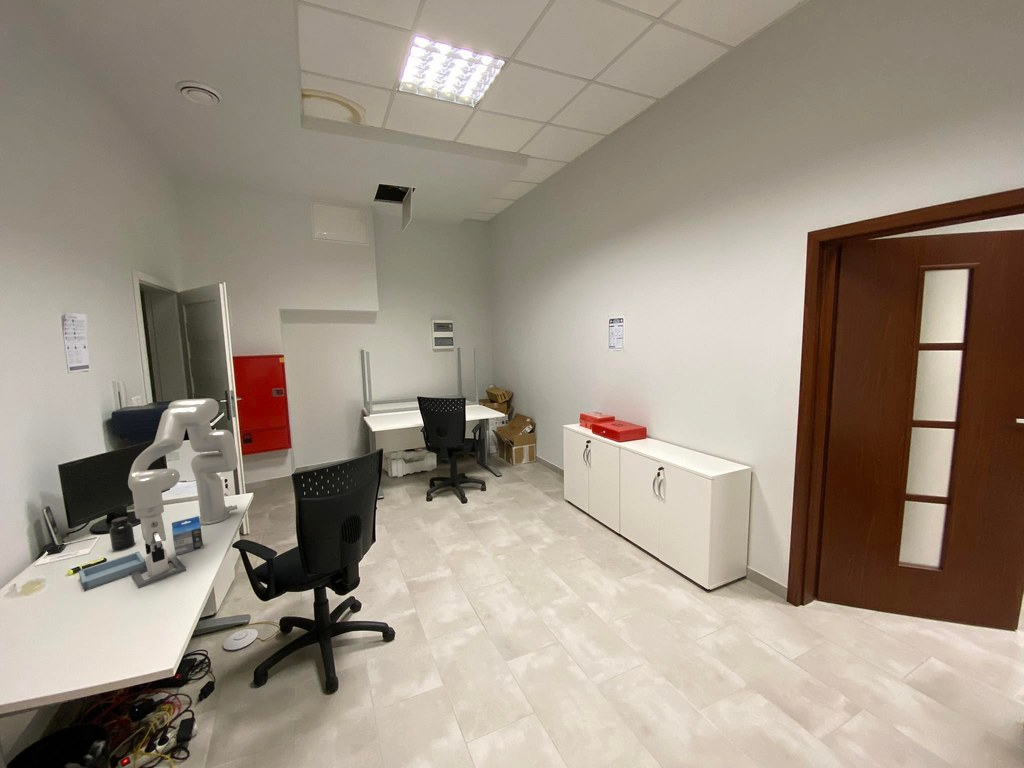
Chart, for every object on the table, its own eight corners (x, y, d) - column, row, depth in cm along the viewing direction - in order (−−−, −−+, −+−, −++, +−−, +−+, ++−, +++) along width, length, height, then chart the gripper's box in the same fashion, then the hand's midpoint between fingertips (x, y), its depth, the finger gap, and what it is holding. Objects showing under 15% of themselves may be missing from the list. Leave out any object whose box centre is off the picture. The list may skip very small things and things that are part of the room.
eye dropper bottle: (168, 572, 147) (164, 540, 146) (148, 578, 143) (143, 546, 142) (168, 567, 150) (164, 536, 149) (148, 573, 147) (143, 541, 145)
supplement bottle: (139, 543, 170) (135, 515, 168) (122, 551, 163) (118, 523, 162) (125, 542, 170) (120, 515, 169) (107, 551, 164) (102, 522, 162)
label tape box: (175, 556, 158) (171, 525, 157) (175, 552, 161) (171, 522, 160) (203, 548, 164) (199, 518, 162) (202, 544, 167) (199, 515, 166)
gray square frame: (176, 559, 156) (176, 556, 156) (186, 570, 148) (185, 567, 148) (130, 575, 146) (130, 572, 146) (138, 588, 138) (138, 585, 138)
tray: (139, 558, 157) (138, 551, 157) (146, 569, 150) (145, 561, 149) (79, 578, 145) (78, 570, 144) (84, 591, 137) (83, 582, 137)
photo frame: (34, 565, 154) (50, 545, 168) (34, 567, 154) (51, 548, 168) (88, 552, 162) (100, 535, 176) (89, 555, 162) (100, 537, 177)
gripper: (169, 512, 141) (175, 559, 143) (157, 501, 152) (163, 545, 154) (140, 520, 136) (147, 569, 137) (130, 508, 146) (136, 554, 148)
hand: (155, 556), depth 146 cm, fingers open, 9 cm apart
